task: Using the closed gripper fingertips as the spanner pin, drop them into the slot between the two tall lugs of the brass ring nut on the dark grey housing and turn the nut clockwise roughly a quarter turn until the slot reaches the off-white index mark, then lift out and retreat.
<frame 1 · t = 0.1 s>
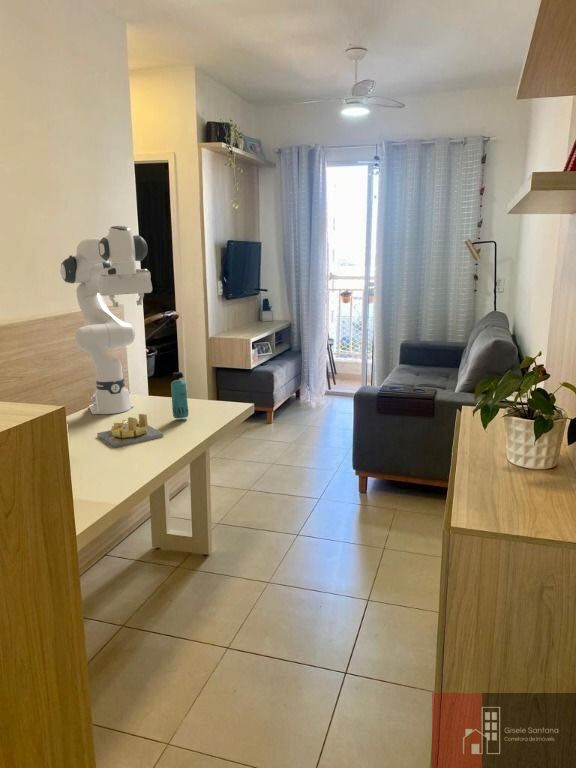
hand: (127, 306, 219), 48 cm above the table, fingers open, 8 cm apart
beverage bottle: (181, 420, 234), on the table
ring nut: (129, 423, 212), point 5 cm above the table, hinge at 0.0°
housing: (130, 436, 213), on the table
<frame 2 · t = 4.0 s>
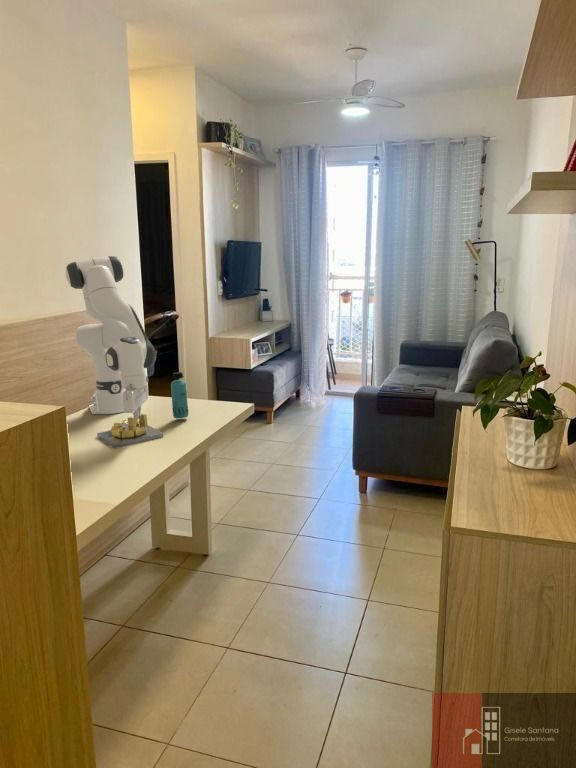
hand: (137, 418, 208), 8 cm above the table, fingers closed
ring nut: (129, 423, 212), point 5 cm above the table, hinge at 0.6°
everything else where it was.
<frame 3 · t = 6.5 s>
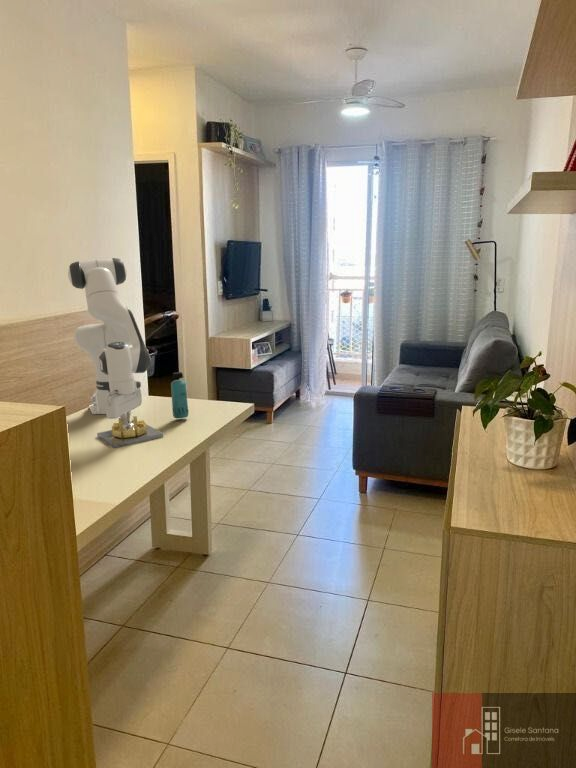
hand: (126, 424, 207), 6 cm above the table, fingers closed
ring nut: (128, 423, 212), point 5 cm above the table, hinge at 40.6°, touching gripper
everything else where it was.
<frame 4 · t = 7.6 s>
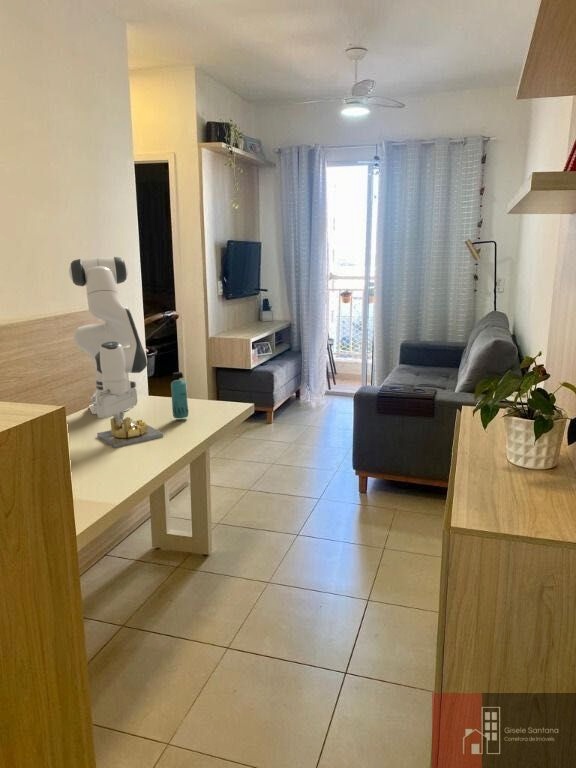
hand: (119, 423, 208), 7 cm above the table, fingers closed, pressing on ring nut
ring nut: (128, 423, 212), point 5 cm above the table, hinge at 70.8°, touching gripper
everything else where it was.
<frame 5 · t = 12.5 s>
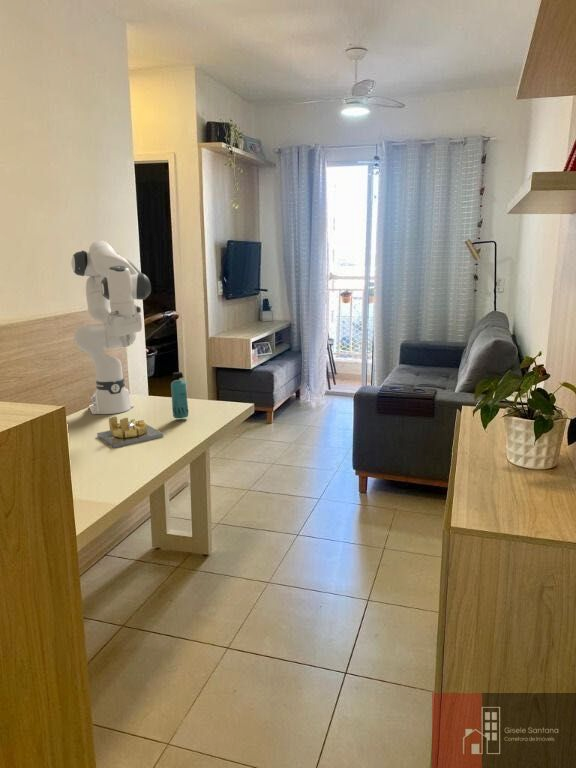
hand: (126, 346, 215), 33 cm above the table, fingers closed
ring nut: (128, 423, 212), point 5 cm above the table, hinge at 80.5°
everything else where it was.
at the end: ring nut at +80° (first picture: +0°) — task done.
